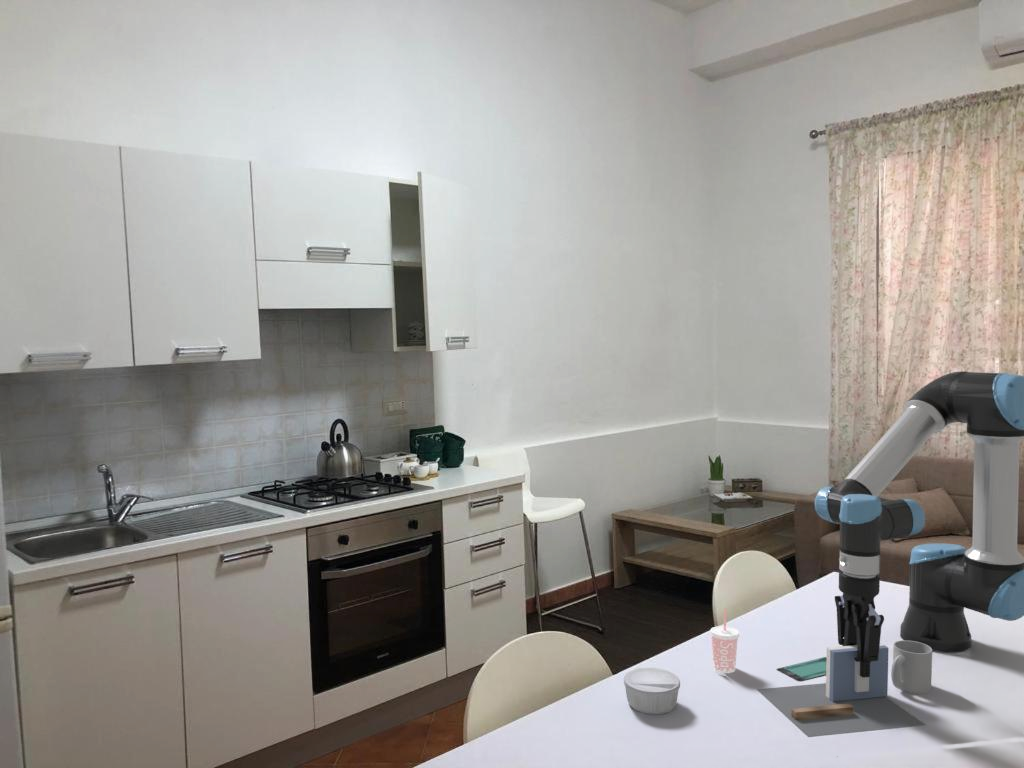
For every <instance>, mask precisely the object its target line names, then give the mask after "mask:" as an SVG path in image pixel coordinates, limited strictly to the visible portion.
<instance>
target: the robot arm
mask: <svg viewBox="0 0 1024 768" xmlns="http://www.w3.org/2000/svg"><path fill="white" fill-rule="evenodd" d="M954 423H961V424H966V435H967V436H968V437H969V438H970V439H972V441H974V442H973V443H974V445H973V448H974V449H973V488H972V489H973V491H972V492H973V495H972V496H973V497H972V498H973V499H972V501H973V502H972V504H973V505H972V545H971V547H970V548H968V549H966V547H965V546H964V545H960V544H954V543H939V542H936V543H924V544H919V545H915V546H914V547H913V548H912V549H911V551H910V552H911V553H910V561H909V592H908V593H909V599H908V600H909V601H908V607H907V609H906V613H905V615H904V617H903V621H902V622H901V624H900V626H899V627H900V631H899V634H900V635H899V636H900V638H901V639H902V640H908V641H916V642H920V643H923V644H926V645H928V646H930V647H931V648H932V651H935V652H940V653H941V652H944V653H958V652H964V651H967V650H969V649H971V647H972V634H971V631H970V628H969V625H968V622H967V619H966V615H965V609H968V610H971V611H973V612H976V613H981V614H983V615H985V616H989V617H990V618H992V619H1000V620H1004V621H1008V622H1012V621H1017V620H1019V619H1021V618H1023V617H1024V556H1023V555H1022V554H1021V553H1020V552H1019V551H1018V522H1019V521H1018V520H1019V485H1020V484H1019V483H1020V482H1019V481H1020V480H1019V479H1020V478H1019V477H1020V444H1021V442H1022V441H1024V375H1020V374H1013V373H1008V372H974V371H973V372H972V371H971V372H969V371H954V372H949V373H947V374H944V375H941V376H939V377H937V378H935V379H933V380H932V381H930V382H928V383H927V384H926V385H924V386H922V387H921V388H920V389H919V390H918V391H916V393H915V394H913V395H912V396H911V397H910V398H909V399H908V400H907V401H906V403H905V404H904V406H903V413H902V414H901V415H900V417H898V419H897V420H896V421H895V422H894V423H893V425H891V427H890V428H888V430H887V431H886V432H885V433H884V434H883V436H882V437H881V438H879V440H878V441H877V442H876V444H874V445H873V447H872V448H870V450H869V451H868V452H867V453H866V454H865V455H864V457H863V458H862V459H860V461H859V462H858V463H857V464H856V465H855V467H854V468H853V469H852V470H851V472H849V474H847V476H846V477H845V478H844V479H843V481H842V482H840V483H839V485H837V487H836V486H825V487H822V488H821V489H820V490H818V492H817V494H816V496H815V498H814V510H815V512H816V514H817V515H818V517H820V518H821V519H822V520H825V521H827V522H830V523H833V524H836V525H839V558H838V562H839V563H838V565H839V567H838V568H839V570H840V572H839V573H838V589H839V592H841V593H842V595H835V596H834V602H835V607H836V621H837V622H836V624H837V625H836V626H837V641H838V643H837V644H838V645H839V646H852V645H857V652H858V657H857V658H854V659H855V684H854V691H855V692H866V691H869V676H870V662H871V661H878V656H879V646H880V643H881V634H882V626H883V623H884V621H885V617H884V615H883V614H878V612H877V611H876V605H875V598H876V597H877V596H878V595H879V594H880V584H881V583H880V579H881V578H880V576H879V574H880V573H881V542H882V541H887V540H894V539H899V538H908V537H910V536H913V535H917V534H918V533H920V532H921V531H922V530H923V529H924V527H925V524H926V514H925V511H924V509H923V507H922V505H920V504H919V502H917V501H915V500H913V499H912V498H911V499H909V498H897V499H890V498H885V497H880V495H881V493H882V492H884V490H885V489H886V488H887V486H888V485H889V484H890V483H891V482H892V481H893V480H894V479H895V477H896V476H897V475H898V474H899V472H900V471H901V470H902V469H903V468H904V467H905V466H906V465H907V464H908V463H909V462H910V460H911V459H912V458H913V457H914V455H915V454H917V452H918V451H919V450H920V449H921V448H922V447H923V446H924V444H926V442H927V441H928V439H929V438H930V437H932V436H933V434H937V433H940V432H942V431H943V430H944V428H945V427H947V426H948V425H950V424H954Z"/></svg>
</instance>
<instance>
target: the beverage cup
mask: <svg viewBox="0 0 1024 768" xmlns="http://www.w3.org/2000/svg"><path fill="white" fill-rule="evenodd" d="M710 635H711V643H712V644H711V646H712V665H713V669H712V670H713V672H714V673H715V674H717V675H720V676H727V674H730V673H734V672H735V671H736V663H737V653H738V652H737V651H738V641H739V640H738V638H739V637H740V631H739V630H738V629H736V628H735V627H731V626H727V608H726V607H725V608H723V625H720V626H718V625H717V626H714V627H711V628H710Z"/></svg>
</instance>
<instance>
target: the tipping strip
mask: <svg viewBox="0 0 1024 768" xmlns="http://www.w3.org/2000/svg"><path fill="white" fill-rule="evenodd" d="M844 715H853V706H851V705H850V704H838V705H828V706H817V707H806V708H796V709H792V712H791V717H793V718H794V719H795V720H802V719H813V718H823V717H833V716H844Z"/></svg>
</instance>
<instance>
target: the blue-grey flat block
mask: <svg viewBox="0 0 1024 768" xmlns="http://www.w3.org/2000/svg"><path fill="white" fill-rule="evenodd" d="M889 649H890V648H889V647H888V646H886V645H884V644H883V643H881V642H880V646H879V656H878V661H871V662H870V676H869V691H866V692H855V691H854V684H855V659H854V658H857V657H858V652H857V645H852V646H842V645H839V646H831V647H826V657H827V663H826V677H825V678H826V679H825V683H826V696H827V697H828V698H829V699H830V700H832V701H843V700H853V699H863V698H874V697H884V696H886V697H888V693H889V692H888V689H889V687H888V686H889V684H888V682H889Z"/></svg>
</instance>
